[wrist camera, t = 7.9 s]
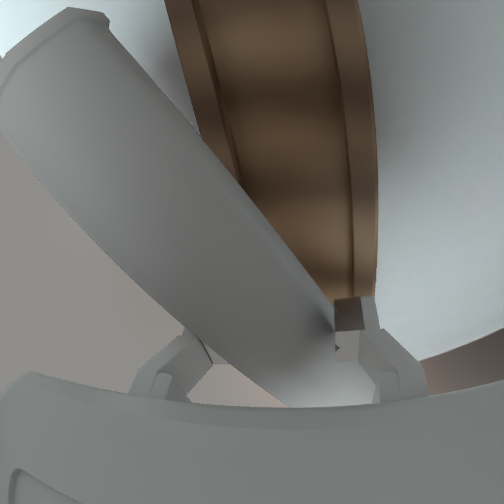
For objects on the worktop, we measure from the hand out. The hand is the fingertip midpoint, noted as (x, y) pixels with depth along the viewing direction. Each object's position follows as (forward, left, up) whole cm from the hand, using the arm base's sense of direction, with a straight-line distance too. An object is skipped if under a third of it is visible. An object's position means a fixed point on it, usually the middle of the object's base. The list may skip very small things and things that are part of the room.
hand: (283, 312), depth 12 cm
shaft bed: (0, 0, -13) cm, 13 cm away
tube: (0, -1, -3) cm, 3 cm away
